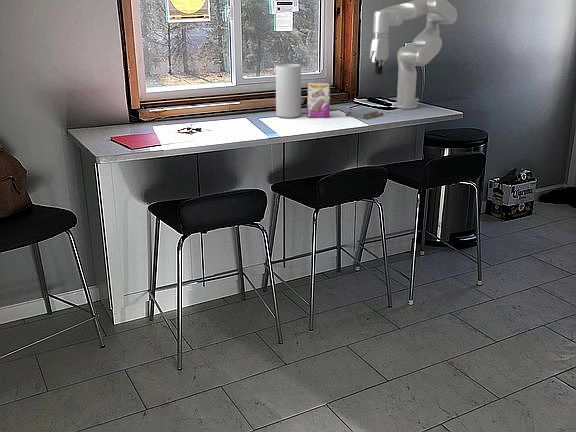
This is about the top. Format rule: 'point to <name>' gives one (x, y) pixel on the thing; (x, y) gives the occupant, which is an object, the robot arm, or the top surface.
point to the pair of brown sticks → (371, 115)
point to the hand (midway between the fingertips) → (378, 74)
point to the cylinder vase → (288, 90)
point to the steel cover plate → (361, 113)
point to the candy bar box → (318, 100)
